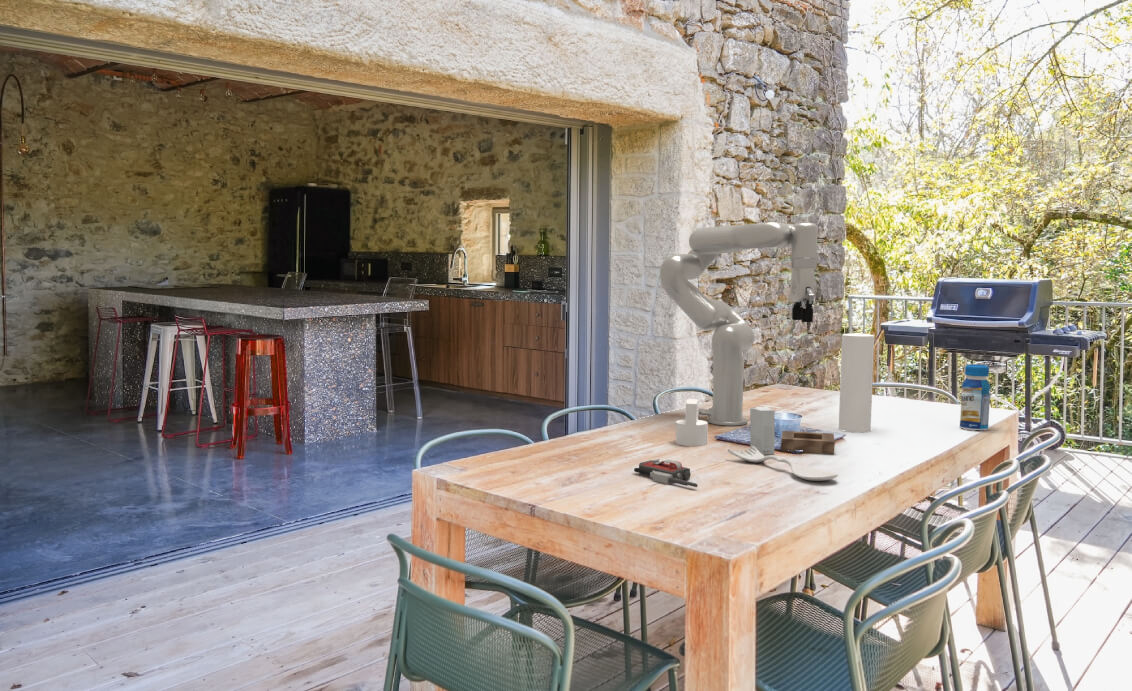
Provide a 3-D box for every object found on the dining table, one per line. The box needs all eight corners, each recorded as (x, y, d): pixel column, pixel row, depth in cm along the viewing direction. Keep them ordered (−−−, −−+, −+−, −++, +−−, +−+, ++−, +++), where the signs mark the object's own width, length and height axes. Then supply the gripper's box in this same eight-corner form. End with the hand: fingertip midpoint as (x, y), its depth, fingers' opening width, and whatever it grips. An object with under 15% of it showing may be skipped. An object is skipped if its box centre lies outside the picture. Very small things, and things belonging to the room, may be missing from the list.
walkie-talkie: (627, 476, 214) (694, 492, 200) (627, 458, 213) (694, 473, 199) (651, 470, 220) (717, 485, 206) (651, 453, 219) (717, 467, 205)
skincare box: (775, 454, 238) (776, 409, 237) (760, 455, 236) (762, 410, 235) (762, 449, 244) (763, 406, 243) (748, 450, 242) (749, 407, 241)
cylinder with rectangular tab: (676, 439, 257) (677, 398, 256) (707, 440, 256) (708, 399, 254) (674, 445, 249) (675, 403, 247) (706, 446, 247) (707, 404, 246)
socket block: (780, 451, 242) (781, 438, 241) (782, 442, 253) (782, 430, 253) (834, 454, 238) (834, 441, 238) (833, 445, 250) (833, 433, 249)
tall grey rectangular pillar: (874, 432, 269) (878, 334, 266) (843, 432, 269) (847, 334, 266) (864, 427, 278) (868, 332, 275) (834, 426, 278) (838, 331, 275)
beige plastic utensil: (752, 457, 236) (752, 444, 235) (845, 483, 208) (846, 469, 208) (726, 460, 231) (726, 447, 231) (818, 488, 204) (819, 473, 204)
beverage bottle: (993, 431, 272) (997, 367, 270) (966, 431, 272) (969, 367, 270) (981, 426, 281) (984, 364, 279) (954, 426, 281) (957, 363, 279)
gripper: (783, 264, 274) (781, 319, 276) (800, 264, 257) (798, 323, 259) (807, 264, 275) (805, 319, 276) (825, 264, 257) (823, 323, 259)
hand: (802, 321), depth 268 cm, fingers open, 9 cm apart
